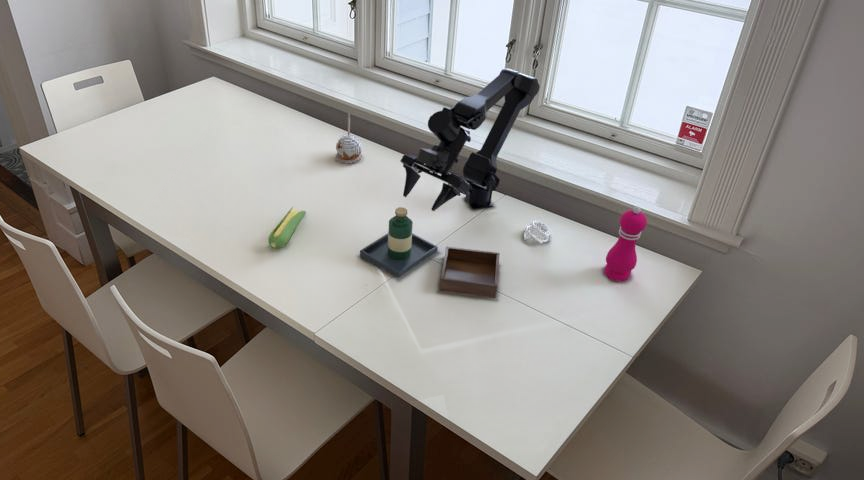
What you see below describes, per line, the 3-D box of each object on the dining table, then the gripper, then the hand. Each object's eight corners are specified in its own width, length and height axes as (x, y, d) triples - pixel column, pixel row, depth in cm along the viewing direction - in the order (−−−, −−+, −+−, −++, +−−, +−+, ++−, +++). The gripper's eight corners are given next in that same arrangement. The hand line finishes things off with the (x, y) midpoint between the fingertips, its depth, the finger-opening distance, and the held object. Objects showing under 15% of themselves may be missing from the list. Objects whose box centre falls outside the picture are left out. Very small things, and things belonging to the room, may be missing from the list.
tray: (398, 232, 178) (399, 226, 177) (437, 253, 172) (437, 246, 170) (359, 257, 169) (359, 250, 168) (398, 279, 163) (399, 272, 161)
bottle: (413, 248, 172) (415, 206, 164) (408, 261, 167) (410, 219, 159) (390, 244, 173) (392, 202, 165) (385, 257, 168) (386, 215, 160)
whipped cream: (523, 230, 183) (525, 214, 180) (549, 231, 181) (550, 215, 179) (523, 245, 176) (524, 229, 173) (549, 246, 175) (550, 230, 172)
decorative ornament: (339, 151, 213) (338, 108, 204) (363, 153, 213) (363, 110, 203) (334, 163, 207) (333, 118, 198) (359, 165, 206) (359, 121, 197)
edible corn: (264, 251, 170) (263, 237, 167) (293, 210, 185) (292, 197, 183) (283, 255, 169) (282, 240, 166) (311, 214, 184) (310, 200, 182)
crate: (444, 259, 170) (446, 246, 167) (497, 265, 168) (499, 252, 166) (439, 292, 159) (440, 278, 157) (495, 299, 158) (497, 286, 155)
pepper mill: (598, 265, 169) (617, 198, 157) (625, 264, 170) (646, 198, 158) (607, 283, 164) (628, 215, 151) (636, 282, 164) (659, 215, 152)
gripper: (406, 123, 164) (375, 178, 165) (467, 148, 155) (434, 207, 155) (424, 141, 174) (395, 193, 174) (483, 166, 164) (452, 221, 164)
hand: (418, 203), depth 167 cm, fingers open, 9 cm apart
